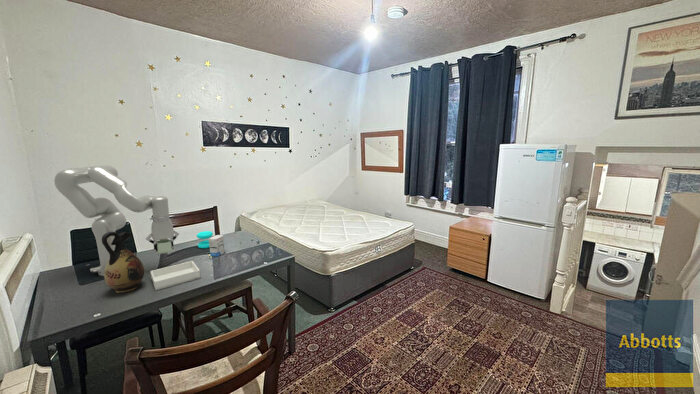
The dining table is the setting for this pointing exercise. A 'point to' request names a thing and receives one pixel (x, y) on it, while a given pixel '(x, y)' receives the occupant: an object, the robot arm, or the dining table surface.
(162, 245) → the box
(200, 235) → the donuts
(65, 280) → the dining table surface
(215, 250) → the ink box
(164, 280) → the white shallow tray
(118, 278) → the ceramic jug
